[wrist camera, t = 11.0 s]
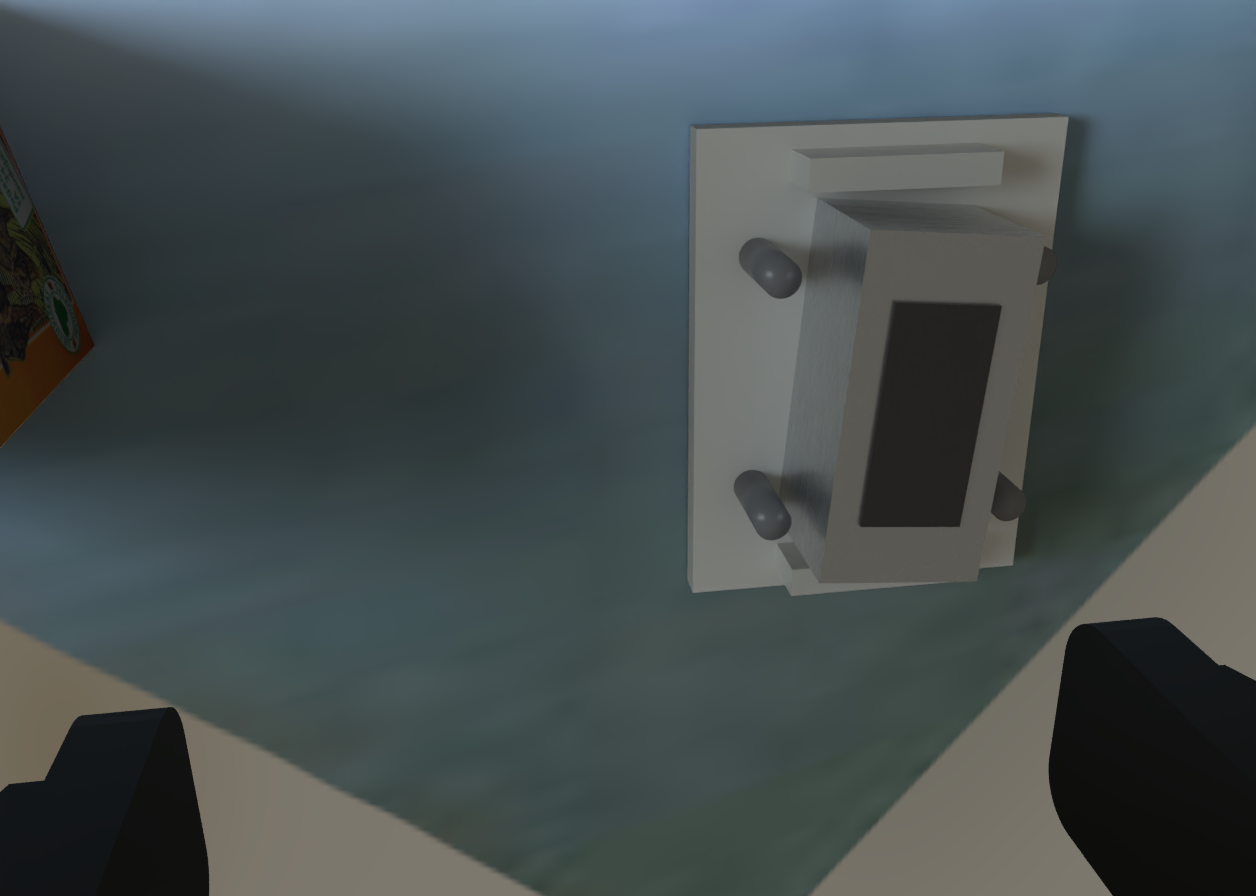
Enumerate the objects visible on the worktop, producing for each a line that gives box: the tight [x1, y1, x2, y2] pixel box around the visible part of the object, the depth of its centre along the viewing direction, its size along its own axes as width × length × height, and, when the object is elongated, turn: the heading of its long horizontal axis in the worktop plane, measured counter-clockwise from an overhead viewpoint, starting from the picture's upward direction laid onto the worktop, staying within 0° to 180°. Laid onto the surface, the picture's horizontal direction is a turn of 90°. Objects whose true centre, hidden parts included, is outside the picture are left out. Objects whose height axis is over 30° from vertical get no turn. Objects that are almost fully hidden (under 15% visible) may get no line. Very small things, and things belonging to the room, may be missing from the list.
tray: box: [687, 113, 1069, 596], centre depth 38 cm, size 16×12×4 cm
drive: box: [779, 198, 1046, 583], centre depth 37 cm, size 11×5×5 cm, turn 176°
